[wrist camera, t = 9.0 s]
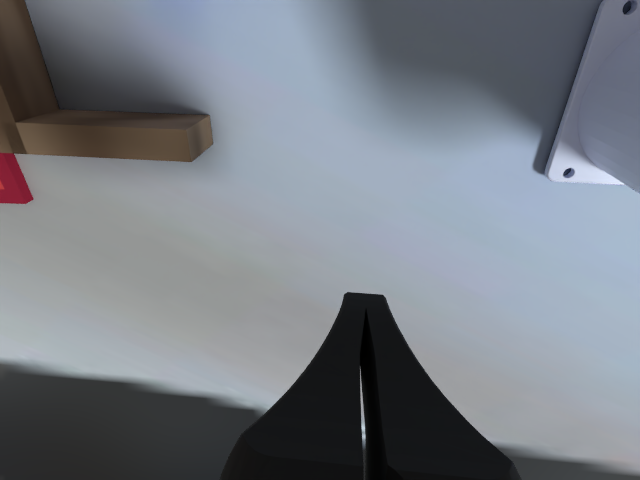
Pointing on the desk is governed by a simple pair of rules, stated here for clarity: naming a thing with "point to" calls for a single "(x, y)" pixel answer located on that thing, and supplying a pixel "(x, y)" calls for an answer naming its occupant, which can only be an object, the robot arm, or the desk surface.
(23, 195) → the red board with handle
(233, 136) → the desk surface
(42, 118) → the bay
